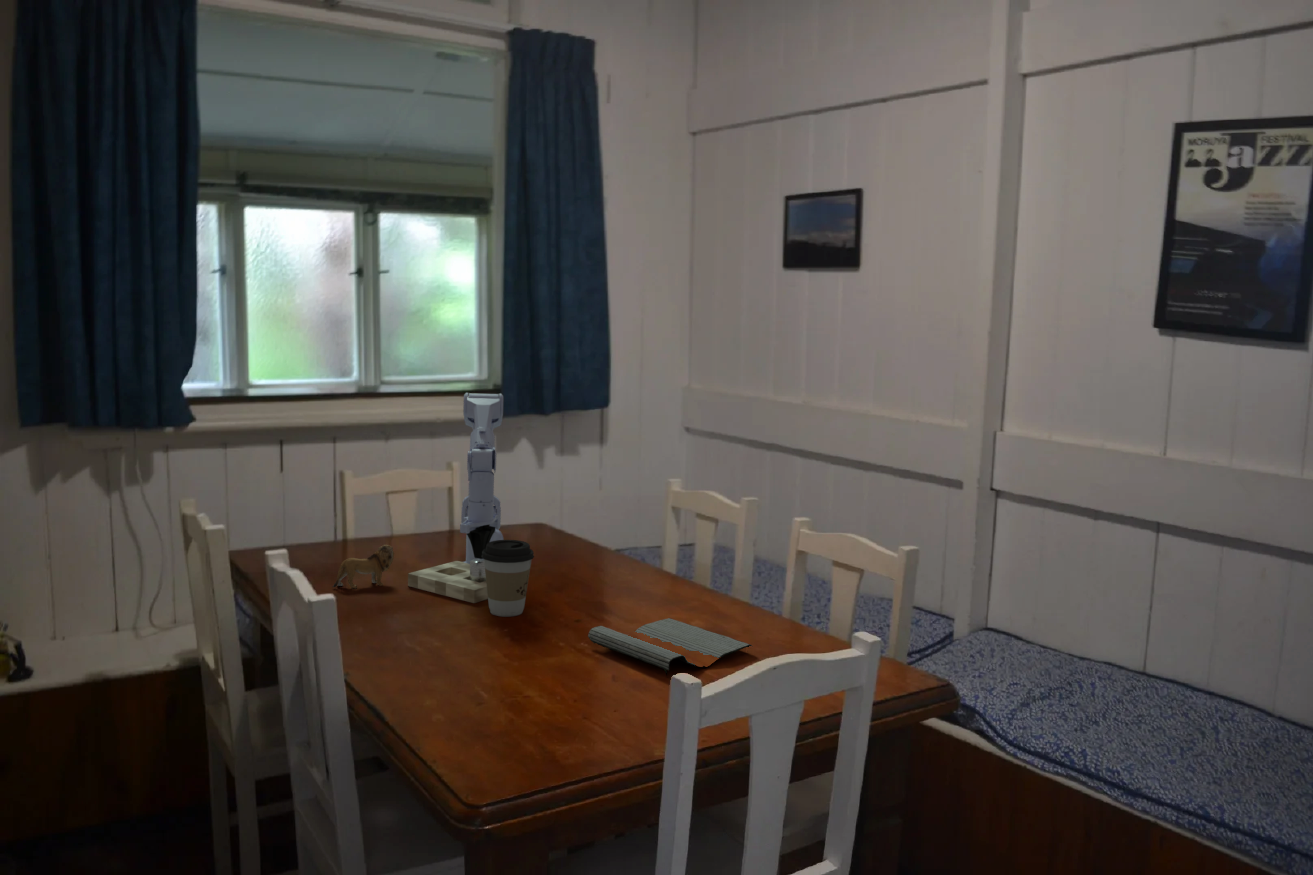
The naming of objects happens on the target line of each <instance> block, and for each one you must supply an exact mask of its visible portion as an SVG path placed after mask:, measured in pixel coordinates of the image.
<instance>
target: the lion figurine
mask: <svg viewBox="0 0 1313 875" xmlns="http://www.w3.org/2000/svg"><path fill="white" fill-rule="evenodd" d="M394 558H395V551H394V547H393V546H391V545H390V544H382V546H379V547H378V548H377V550H375V552H374V553H373V554H371V555H369V557H366V558H355V557H349V558H347V559H345V560H343V561H342V562H341V564H340V565H339V568H338V572H337V576H336V580H335V583H334V584H333V586H332V588H336V587H337V586H338V587H343V586H344V583H343V582H342V579H344V578H345V577H346V576H347V577H348V578H347V584H349V586H350V588H351V589H357V588H358V585H357V584H354V581H353V580H354V577H355V575H356V573H358V574H362V575H370V574H371V581H370V582H371V583H373V584H377V586H379V587H381V586H384V583H383V582H381V581H382V576H383V575H382V574H383V572H387V571H388V570H389V569H390V566H391V565H392V564H393V562H394Z"/></svg>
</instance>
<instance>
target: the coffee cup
mask: <svg viewBox="0 0 1313 875" xmlns="http://www.w3.org/2000/svg"><path fill="white" fill-rule="evenodd" d="M481 557H482V558H483V559H484V565H485V574H486V584H487V593H488V599H487V601H488V602H487V603H488V608H489V612H490V614H491V615H493V616H496V617H497V616H498V617H503V618H504V617H505V618H507V617H509V618H510V617H516V616H517V617H518V616H520V615H522V614H523V613H524V609H525V604H526V598H527V592H528V584H529V579H530V578H529V577H530V573H531V572H530V571H531V566H532V560H533V559H534V558H535V555H534V551H533V549H531V546H530V543H528V542H527V541H523V540H519V539H518V540H517V539H504V540H496V541H492V542H489V543H488V544H487V545H486V549H484V550H483V551H482V556H481Z"/></svg>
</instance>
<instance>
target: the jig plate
mask: <svg viewBox="0 0 1313 875" xmlns="http://www.w3.org/2000/svg"><path fill="white" fill-rule="evenodd" d="M464 562H465V561H459V560H454V561H451V562H447V563H443V564H439V565H435V566H431V567H427V568H423V569H419V570H416V571H412V572H409V573H407V587H410V588H411V587H412V588H414V589H417V590H418V589H419V590H422V591H425V592H426V591H427V592H429V593H430V592H431V593H433V594H437V595H441V596H444V597H450V598H453V599H456V600H460V601H465V602H467V603H472V604H476V603H479V602H482V601H486V600H488V593H487V584H486V581H484V582H481V583H479V582H475V581H471V580H470V564H469V563H464Z"/></svg>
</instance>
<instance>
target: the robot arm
mask: <svg viewBox="0 0 1313 875" xmlns="http://www.w3.org/2000/svg"><path fill="white" fill-rule="evenodd" d="M462 407H463V410H462V412H463V421H464V425H465V426H467V427H469V428H471V429H472V431H471V432H470V437H469V438H470V439H469V450H468V451H467V458H466V459H467V460H466V464H467V465H466V466H467V467H466V470H467V479H468V480H467V481H468V495H467V496H465V497H464V498H463V500H462V504H461V517H460V518H461V519H460V520H461V521H460V522H461V523H460V525H459V533H462V534H466V535H465V536H466V538H465V542H466V543H465V544H466V545H465V561H463V562H464V563H469V564H470V561H471V560H474V559H483V558H482V557H481V556H482V551H483V550H484V549H486V545H487V544H488V543H489V542H492V541H496V540H505V538H504V535H503V533H502V531H501V530H499V529H500V528H501V522H502V521H501V518H502V516H501V515H502V514H501V513H502V512H501V511H502V510H501V508H502V507H501V501H500V498H499V497H497V496H496V495H495V493H494V491H495V489H494V488H495V474H496V471H497V450H496V445H495V443H496V442H495V441H496V437H495V433H494V430H495V429H496V428H498V427H500V426H502V423H503V417H504V395H503V394H502V393H473V392H472V393H470V392H465V393H464V394H463V406H462ZM493 471H494V472H493ZM483 560H484V559H483Z"/></svg>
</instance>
